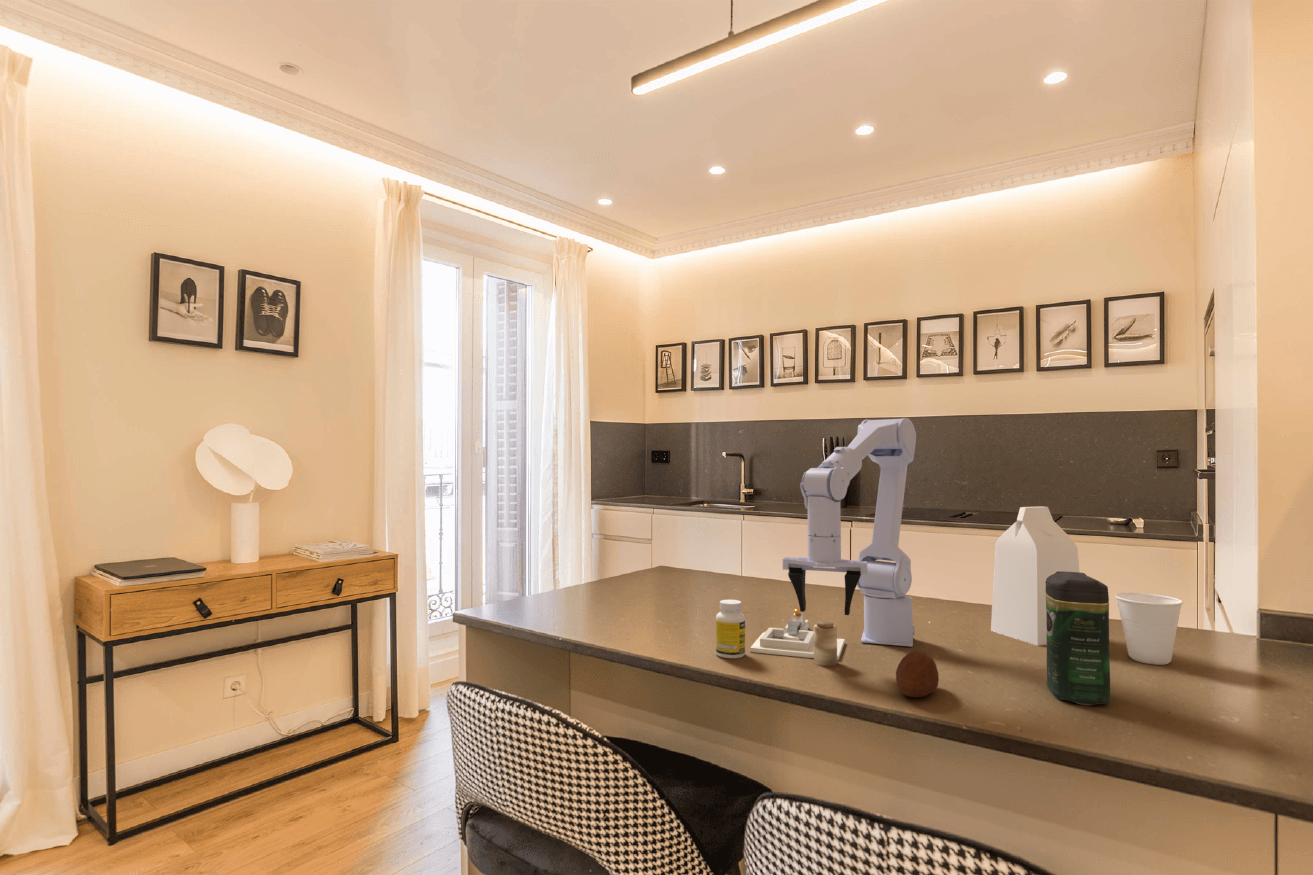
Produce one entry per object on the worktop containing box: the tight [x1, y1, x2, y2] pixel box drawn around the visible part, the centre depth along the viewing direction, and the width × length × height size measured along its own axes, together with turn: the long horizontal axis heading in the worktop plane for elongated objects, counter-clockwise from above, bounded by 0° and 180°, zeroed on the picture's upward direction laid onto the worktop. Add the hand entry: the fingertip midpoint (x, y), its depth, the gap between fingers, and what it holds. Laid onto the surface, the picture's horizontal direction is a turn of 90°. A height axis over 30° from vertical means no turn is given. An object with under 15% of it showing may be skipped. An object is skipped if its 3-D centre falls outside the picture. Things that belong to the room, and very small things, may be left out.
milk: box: [990, 506, 1080, 647], centre depth 139 cm, size 12×12×26 cm
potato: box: [895, 649, 940, 698], centre depth 105 cm, size 6×12×6 cm, turn 149°
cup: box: [1114, 592, 1184, 666], centre depth 122 cm, size 10×10×11 cm
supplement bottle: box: [715, 599, 746, 659], centre depth 126 cm, size 5×5×10 cm
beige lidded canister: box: [813, 620, 838, 667], centre depth 121 cm, size 4×4×7 cm
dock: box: [749, 619, 845, 662], centre depth 135 cm, size 16×22×2 cm
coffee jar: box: [1045, 571, 1111, 706], centre depth 104 cm, size 10×8×19 cm
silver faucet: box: [787, 608, 804, 635], centre depth 140 cm, size 2×8×4 cm, turn 159°
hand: (824, 612), depth 121 cm, fingers open, 7 cm apart
